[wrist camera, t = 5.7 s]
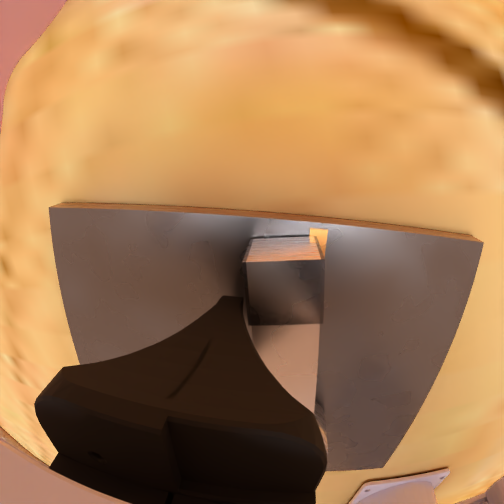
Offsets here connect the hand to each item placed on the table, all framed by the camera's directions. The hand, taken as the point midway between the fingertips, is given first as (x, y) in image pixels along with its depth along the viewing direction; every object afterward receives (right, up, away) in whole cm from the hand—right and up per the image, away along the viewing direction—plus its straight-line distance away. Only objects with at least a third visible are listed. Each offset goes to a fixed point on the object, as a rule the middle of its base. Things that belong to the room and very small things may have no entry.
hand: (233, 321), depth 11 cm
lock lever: (+2, -2, +1) cm, 3 cm away
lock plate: (+1, -3, +3) cm, 4 cm away
